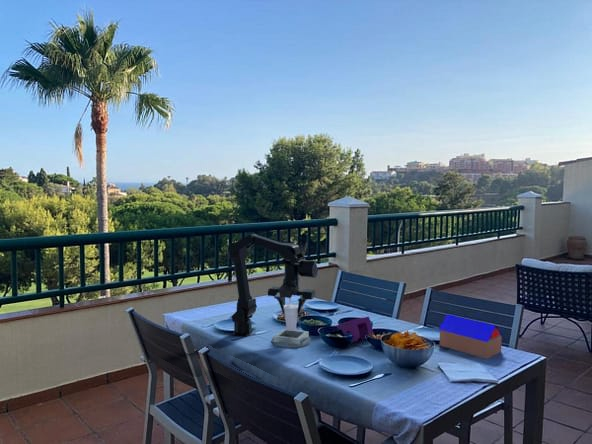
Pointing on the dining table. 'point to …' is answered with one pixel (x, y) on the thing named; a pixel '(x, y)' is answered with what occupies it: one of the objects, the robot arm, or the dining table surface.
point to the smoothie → (291, 316)
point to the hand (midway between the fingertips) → (291, 313)
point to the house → (470, 336)
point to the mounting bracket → (357, 328)
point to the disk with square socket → (291, 339)
